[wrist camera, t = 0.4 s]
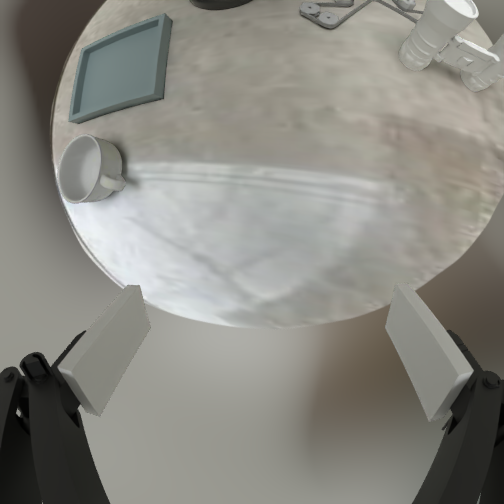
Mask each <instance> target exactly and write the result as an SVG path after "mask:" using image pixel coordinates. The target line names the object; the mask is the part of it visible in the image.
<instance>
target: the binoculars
mask: <svg viewBox="0 0 504 504" xmlns="http://www.w3.org/2000/svg"><path fill="white" fill-rule="evenodd" d="M477 17H478V10H477V8H476V6H475V4H474V3H473V1H472V0H427V2H426V5H425V9H424V12H423V15H422V16H421V18H420V19H419V20H418V21H417V23H416V26H415V27H414V29H412V31H411V34H410V35H409V37H408V38H407V40H405V41H404V42H403V44H402V47H401V49H400V51H399V58H400V60H401V62H402V63H403V64H404V65H405V66H406V67H407V68H409V69H411V70H413V71H421V70H423V69H424V68H425V67H427V66H428V65H429V64H430V63H431V60H432V59H433V58H434V59H435V60H436V61H437V62H441V61H443V62H445V63H447V64H449V65H451V66H453V67H456V68H458V69H461V72H460V75H461V79H462V81H463V83H464V84H465V85H466V86H467V87H468V88H469V89H470V90H471V91H474V92H478V91H480V90H484V89H486V88H487V87H488V86H489V85H491V84H492V83H494V82H497V81H498V80H499V79H501V78H504V33H503V35H502V36H501V37H500V39H499V40H498V41H497V42H496V44H494V45H493V46H492V47H490V48H489V49H488V50H486V49H484V48H482V47H480V46H477V45H475V44H474V43H472V42H470V41H466V40H465V39H463V38H462V39H461V37H460V36H458V35H457V34H458V33H460V32H461V31H463V30H465V29H466V28H467V26H468V25H469V24H470V23H471V22H472V21H473V20H474V19H475V18H477ZM446 43H448V45H447V46H446V47H445V48H444V49H443V50H442V51H441V52H439V51H440V50H441V49H442V48H443V47H444V45H445V44H446Z"/></svg>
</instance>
